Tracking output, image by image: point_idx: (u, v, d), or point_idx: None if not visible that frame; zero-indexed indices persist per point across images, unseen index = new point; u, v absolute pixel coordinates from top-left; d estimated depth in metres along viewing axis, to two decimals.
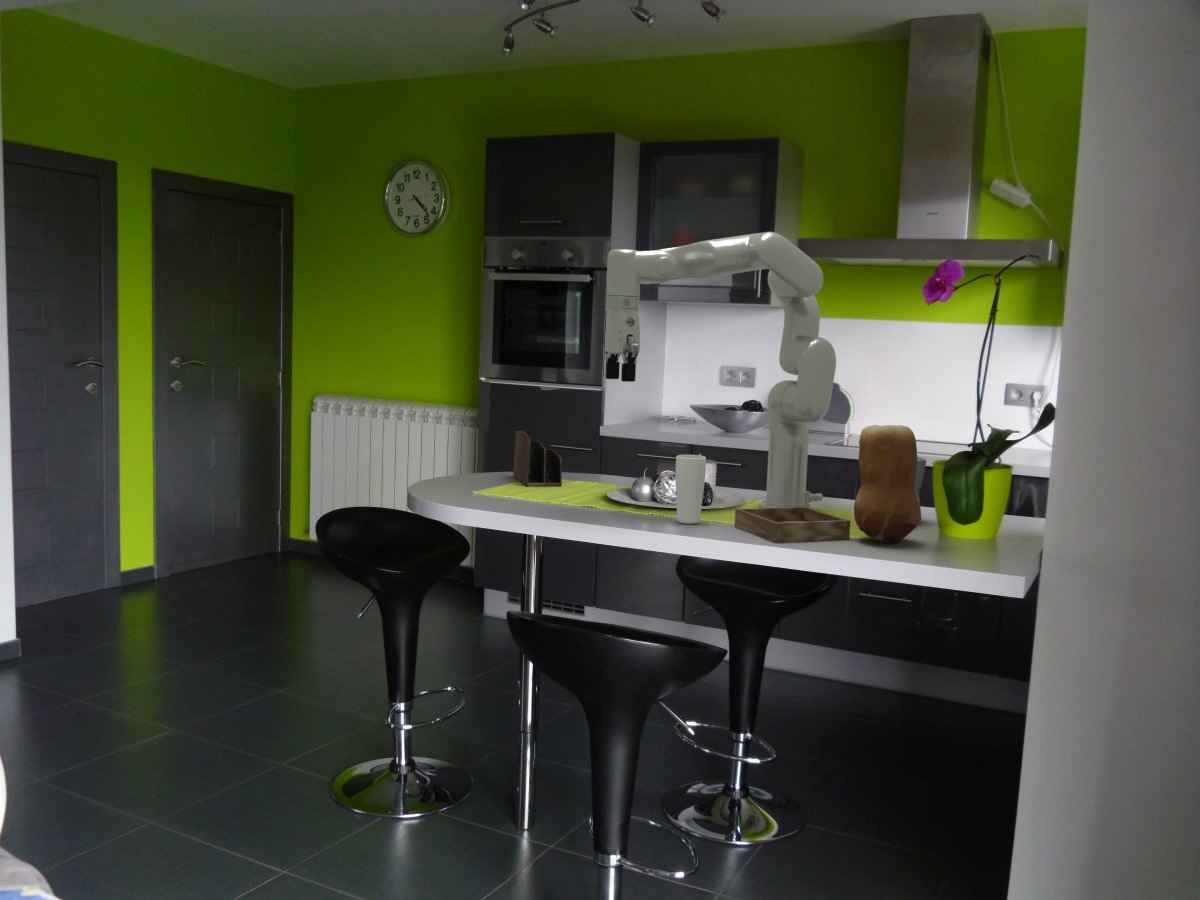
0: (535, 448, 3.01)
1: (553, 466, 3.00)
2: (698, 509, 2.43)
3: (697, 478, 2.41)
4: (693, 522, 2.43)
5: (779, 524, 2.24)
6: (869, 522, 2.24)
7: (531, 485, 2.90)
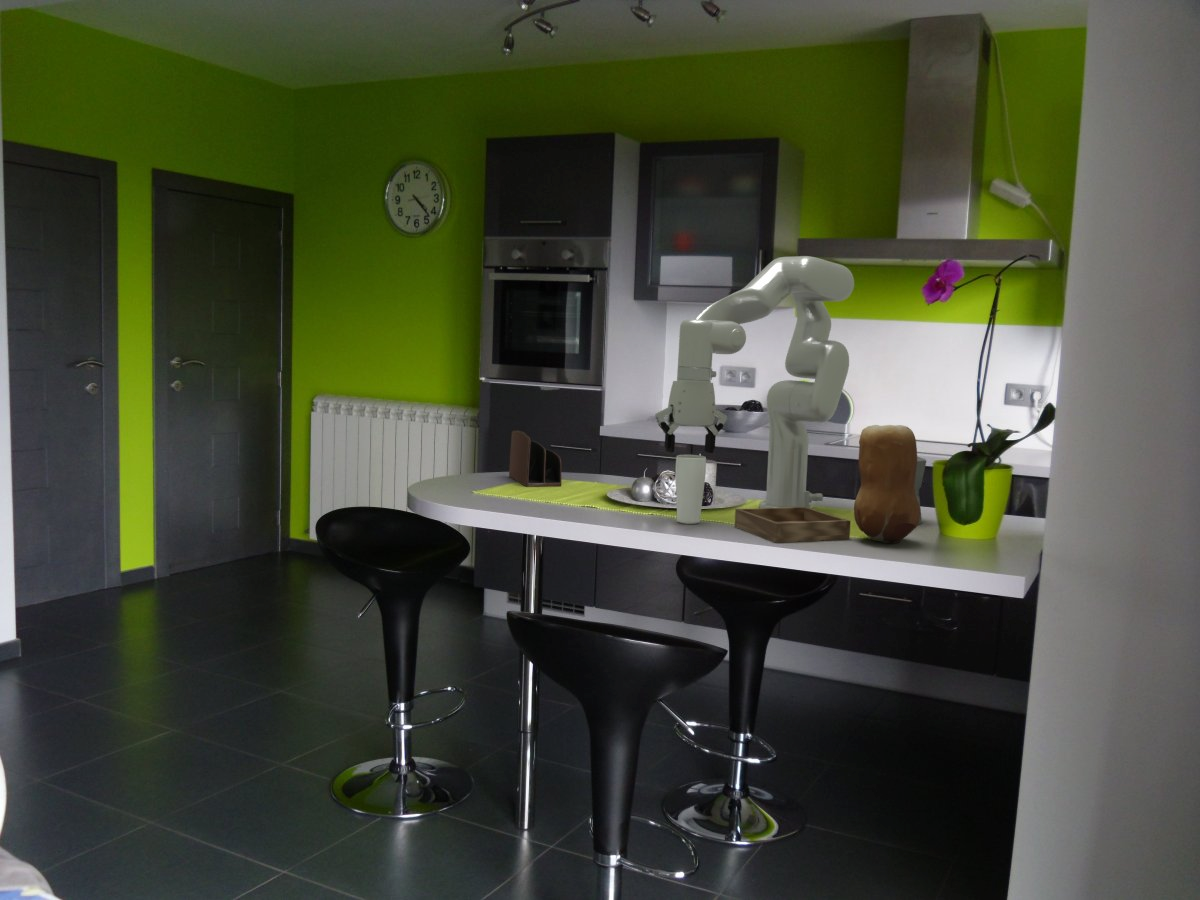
0: (532, 448, 3.01)
1: (551, 466, 3.00)
2: (698, 509, 2.43)
3: (697, 478, 2.41)
4: (693, 522, 2.43)
5: (779, 524, 2.24)
6: (869, 522, 2.24)
7: (531, 485, 2.90)
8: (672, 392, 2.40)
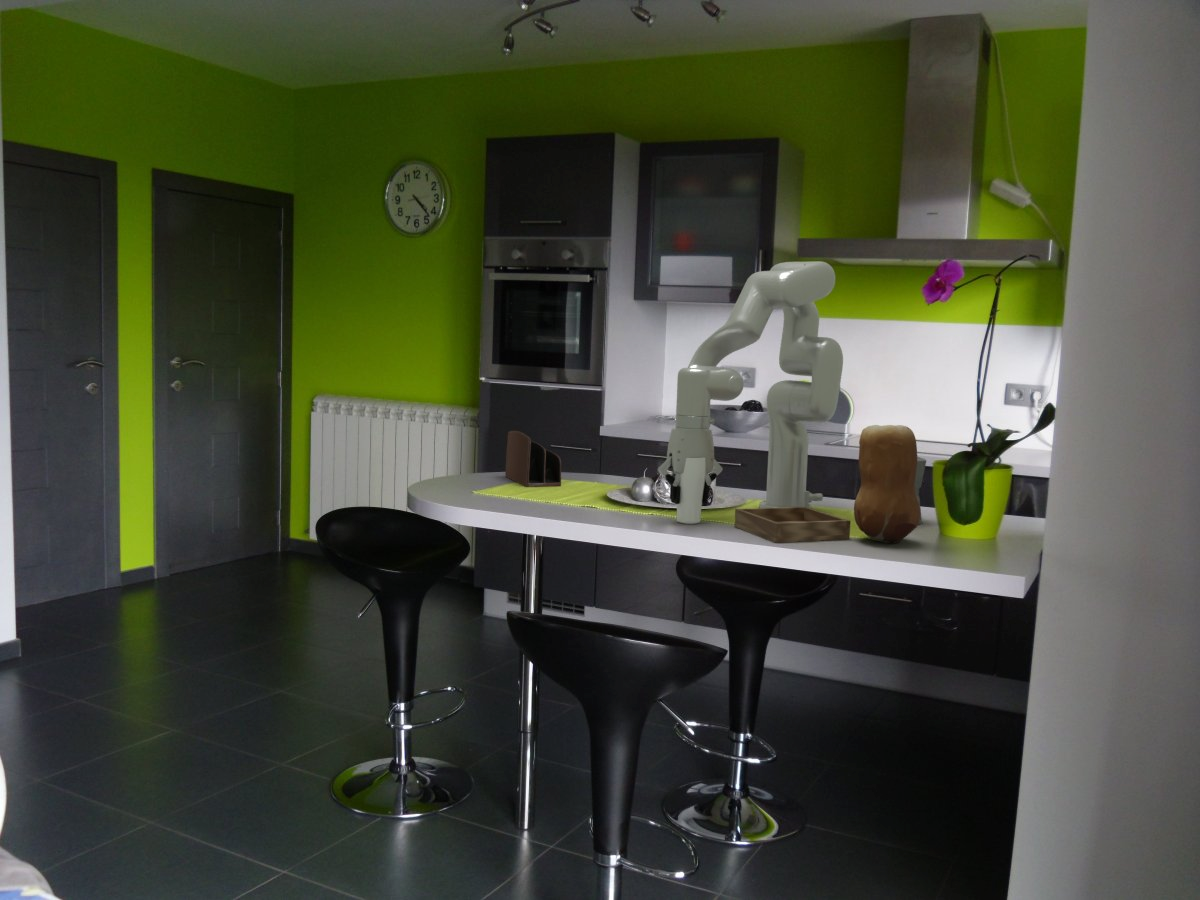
0: (530, 448, 3.01)
1: (549, 466, 3.00)
2: (698, 509, 2.43)
3: (697, 478, 2.41)
4: (693, 522, 2.43)
5: (779, 524, 2.24)
6: (869, 522, 2.24)
7: (532, 485, 2.90)
8: (671, 440, 2.41)
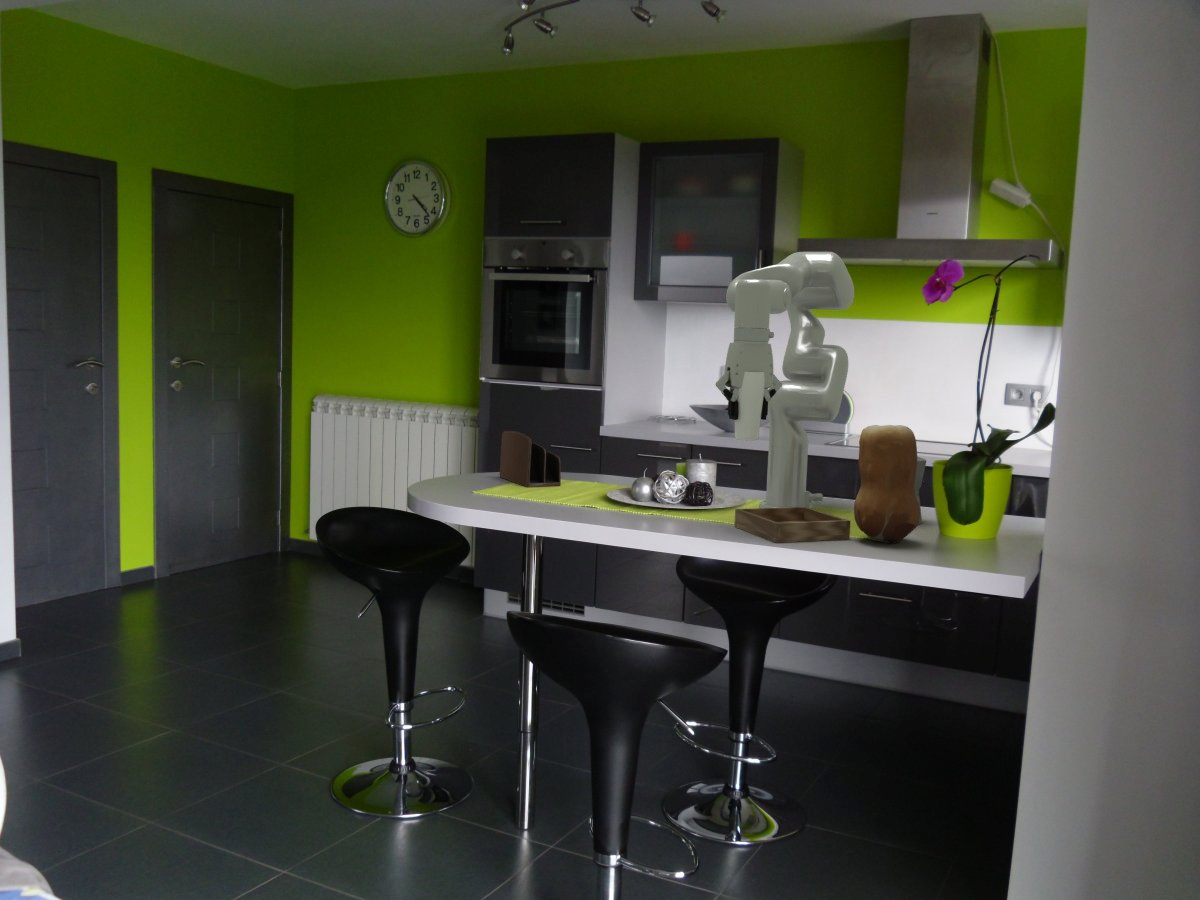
0: None
1: (546, 466, 3.00)
2: (757, 425, 2.36)
3: (756, 393, 2.34)
4: (752, 438, 2.36)
5: (779, 524, 2.24)
6: (869, 522, 2.24)
7: (532, 486, 2.90)
8: (729, 354, 2.35)
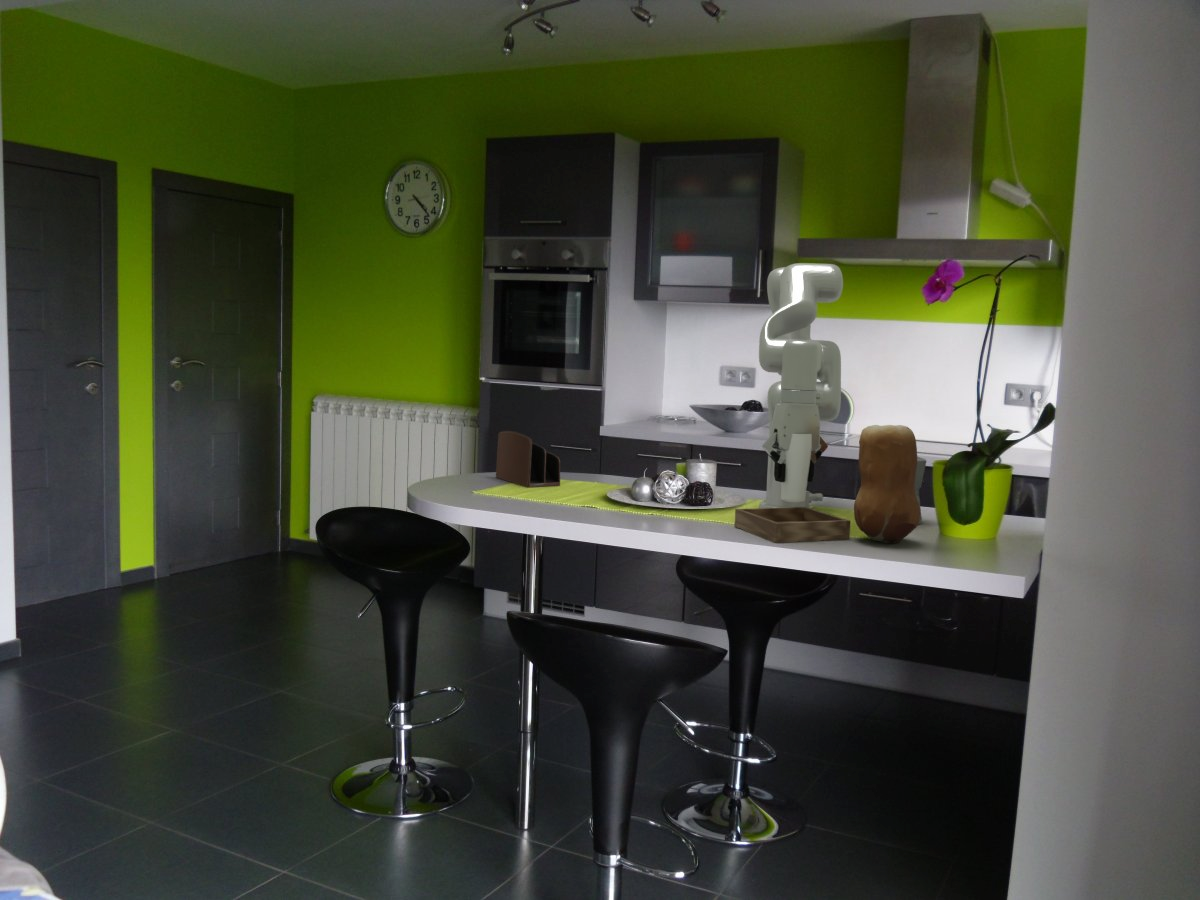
0: None
1: None
2: (804, 488, 2.33)
3: (804, 455, 2.31)
4: (799, 501, 2.33)
5: (779, 524, 2.24)
6: (869, 522, 2.24)
7: (533, 486, 2.89)
8: (776, 416, 2.32)
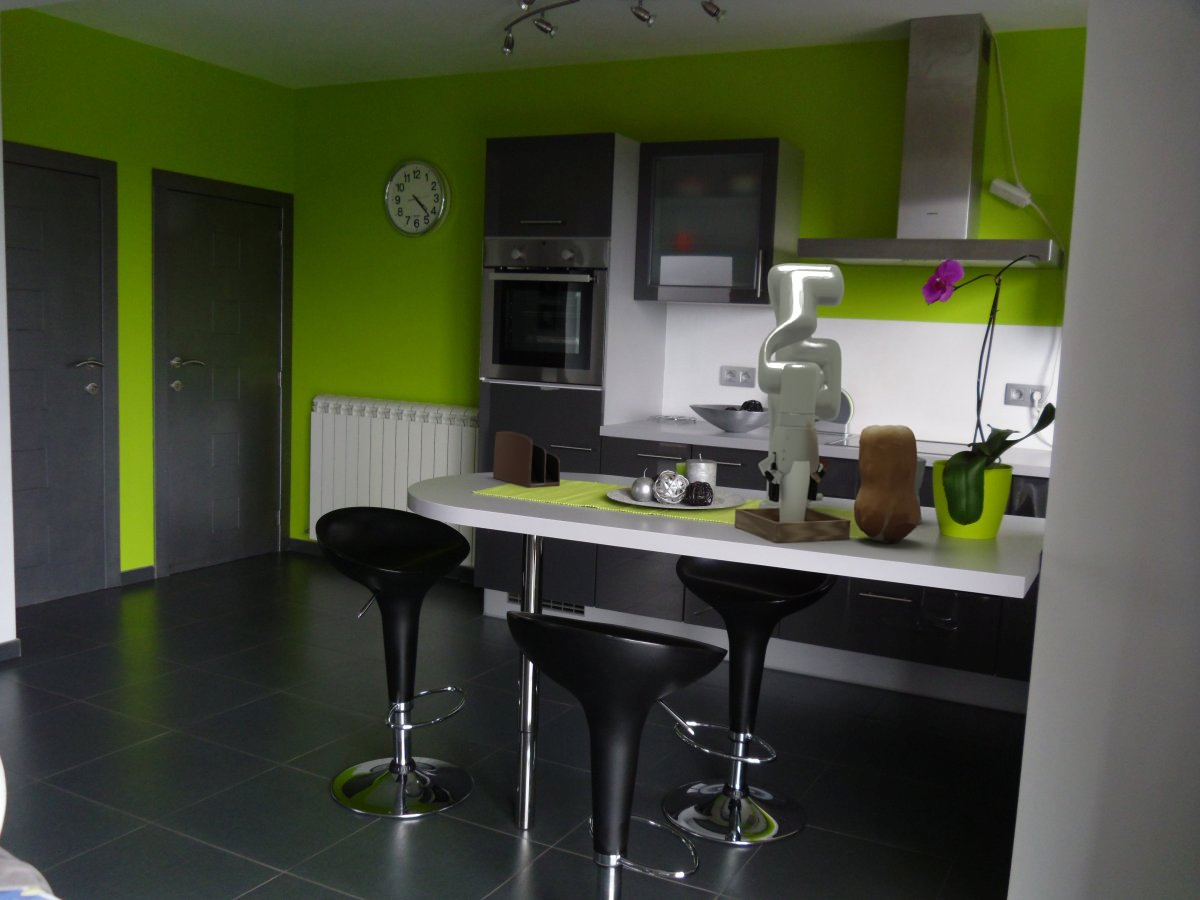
0: None
1: None
2: (802, 514, 2.34)
3: (802, 482, 2.32)
4: None
5: (779, 524, 2.24)
6: (869, 522, 2.24)
7: (533, 486, 2.89)
8: (775, 439, 2.32)
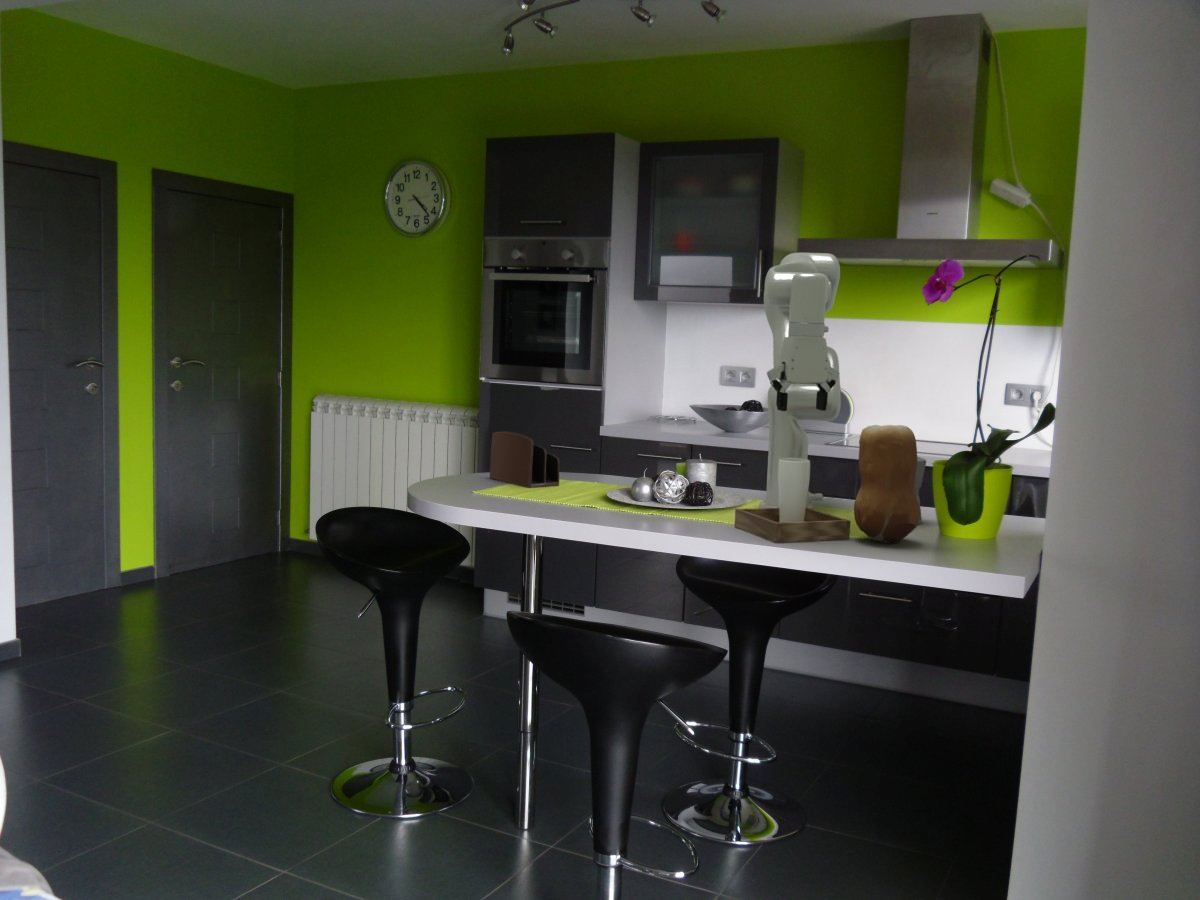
0: None
1: None
2: (802, 514, 2.34)
3: (802, 482, 2.32)
4: None
5: (779, 524, 2.24)
6: (869, 522, 2.24)
7: (534, 486, 2.89)
8: (784, 349, 2.33)
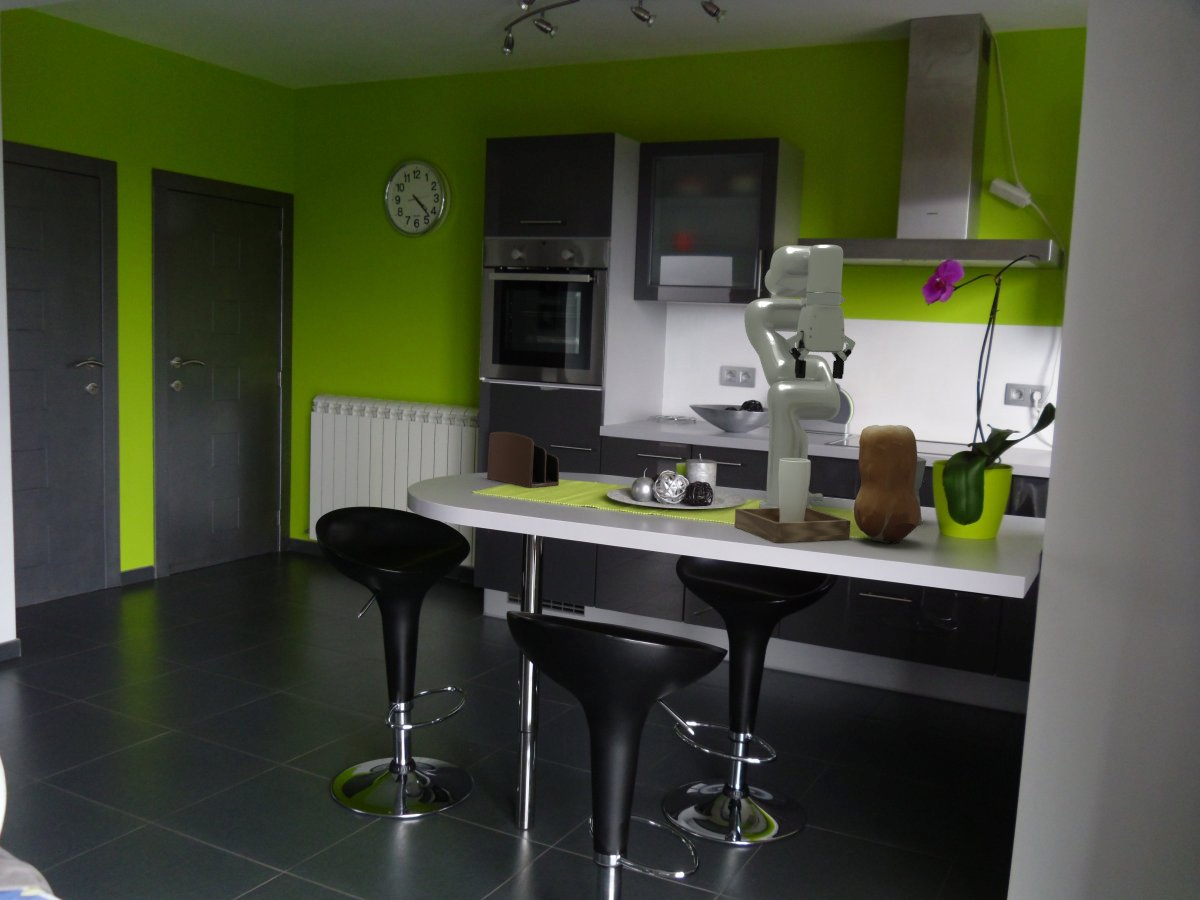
0: None
1: None
2: (802, 514, 2.34)
3: (802, 482, 2.32)
4: None
5: (779, 524, 2.24)
6: (869, 522, 2.24)
7: (534, 486, 2.89)
8: (802, 318, 2.40)
